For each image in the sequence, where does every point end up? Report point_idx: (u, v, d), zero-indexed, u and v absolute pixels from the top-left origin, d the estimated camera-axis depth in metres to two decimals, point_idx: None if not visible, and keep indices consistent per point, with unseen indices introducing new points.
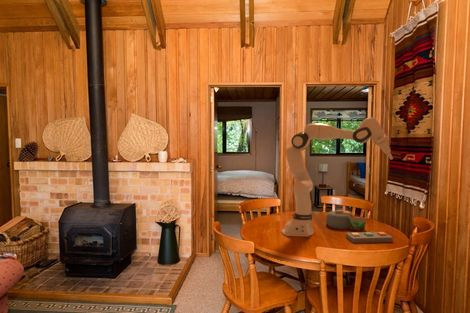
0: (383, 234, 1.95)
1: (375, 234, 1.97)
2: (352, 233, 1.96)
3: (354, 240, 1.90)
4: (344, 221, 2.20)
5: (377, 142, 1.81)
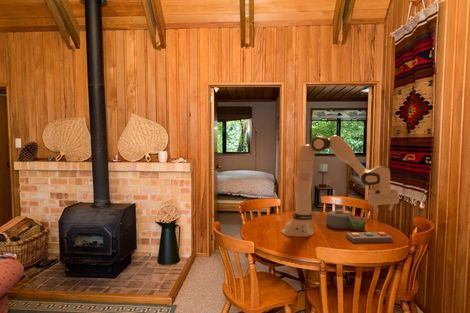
0: (383, 234, 1.95)
1: (375, 234, 1.97)
2: (352, 233, 1.96)
3: (354, 240, 1.90)
4: (344, 221, 2.20)
5: (369, 191, 1.96)
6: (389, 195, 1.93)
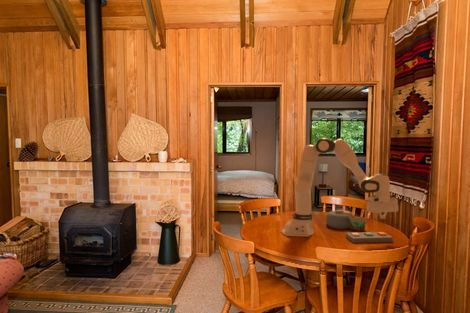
0: (383, 234, 1.95)
1: (375, 234, 1.97)
2: (352, 233, 1.96)
3: (354, 240, 1.90)
4: (344, 221, 2.20)
5: (368, 198, 1.97)
6: (388, 203, 1.94)
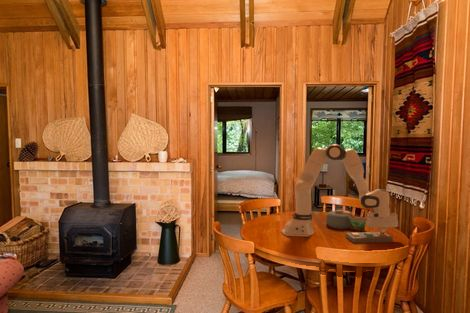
0: (383, 235, 1.95)
1: (375, 234, 1.97)
2: (352, 233, 1.96)
3: (354, 240, 1.90)
4: (344, 221, 2.20)
5: (367, 213, 1.98)
6: (388, 218, 1.94)
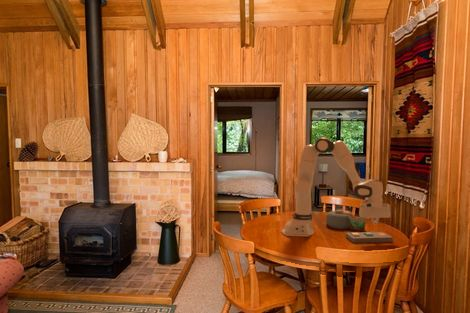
0: None
1: (375, 234, 1.97)
2: (352, 233, 1.96)
3: (354, 240, 1.90)
4: (344, 221, 2.20)
5: (360, 203, 1.97)
6: (381, 209, 1.94)
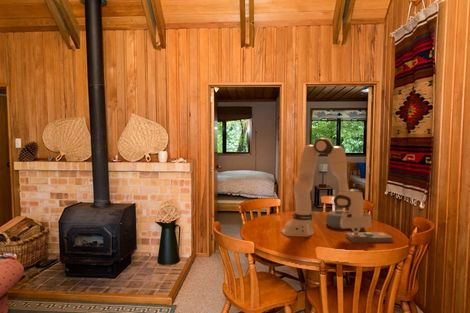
0: None
1: (375, 234, 1.97)
2: (352, 234, 1.96)
3: (354, 240, 1.90)
4: None
5: (341, 214, 1.97)
6: (361, 219, 1.94)
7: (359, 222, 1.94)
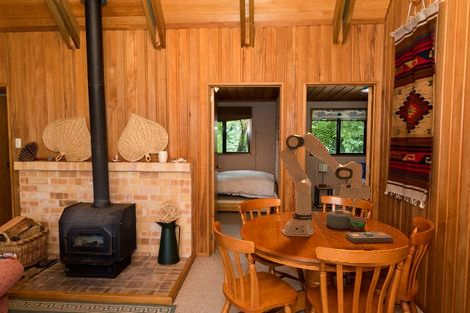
0: None
1: (375, 234, 1.97)
2: (352, 235, 1.96)
3: (354, 240, 1.90)
4: (344, 221, 2.20)
5: (341, 185, 2.05)
6: (360, 190, 2.01)
7: (358, 193, 2.01)
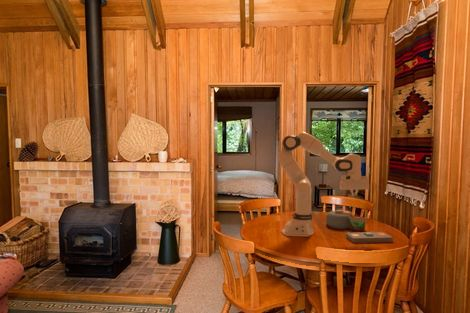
0: None
1: (375, 234, 1.97)
2: (352, 235, 1.96)
3: (354, 240, 1.90)
4: (344, 221, 2.20)
5: (341, 177, 2.09)
6: (359, 181, 2.06)
7: (357, 184, 2.06)
